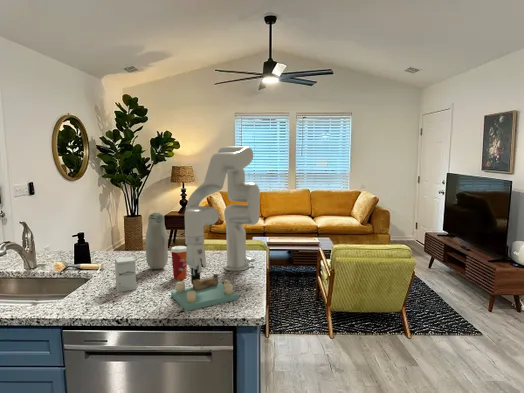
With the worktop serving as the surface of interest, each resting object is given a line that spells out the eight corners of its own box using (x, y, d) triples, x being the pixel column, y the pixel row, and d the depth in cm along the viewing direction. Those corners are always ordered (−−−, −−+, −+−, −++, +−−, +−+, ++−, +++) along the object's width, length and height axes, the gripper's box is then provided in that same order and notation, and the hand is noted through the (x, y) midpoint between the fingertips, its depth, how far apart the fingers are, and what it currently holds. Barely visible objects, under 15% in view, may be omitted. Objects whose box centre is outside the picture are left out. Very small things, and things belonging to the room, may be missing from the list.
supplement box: (117, 292, 148) (116, 262, 147) (115, 287, 155) (114, 258, 154) (136, 289, 152) (135, 260, 151) (134, 284, 158) (132, 255, 157)
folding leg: (215, 282, 153) (215, 273, 153) (219, 284, 151) (219, 274, 151) (192, 288, 146) (192, 278, 146) (196, 290, 144) (195, 280, 144)
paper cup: (184, 280, 163) (183, 249, 162) (168, 279, 164) (167, 249, 163) (191, 275, 171) (190, 245, 169) (175, 274, 172) (175, 245, 171)
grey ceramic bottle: (142, 270, 178) (140, 213, 175) (156, 264, 188) (154, 210, 185) (159, 272, 174) (157, 214, 172) (172, 266, 184) (170, 211, 181)
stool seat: (219, 286, 155) (219, 273, 155) (238, 299, 141) (238, 285, 140) (171, 295, 145) (171, 282, 144) (186, 311, 130) (185, 296, 130)
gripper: (211, 242, 143) (211, 287, 145) (196, 235, 156) (197, 277, 157) (192, 244, 139) (194, 291, 141) (179, 237, 152) (180, 280, 153)
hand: (195, 283), depth 149 cm, fingers closed
